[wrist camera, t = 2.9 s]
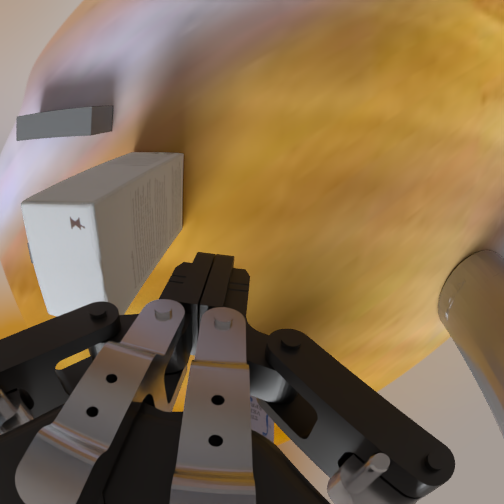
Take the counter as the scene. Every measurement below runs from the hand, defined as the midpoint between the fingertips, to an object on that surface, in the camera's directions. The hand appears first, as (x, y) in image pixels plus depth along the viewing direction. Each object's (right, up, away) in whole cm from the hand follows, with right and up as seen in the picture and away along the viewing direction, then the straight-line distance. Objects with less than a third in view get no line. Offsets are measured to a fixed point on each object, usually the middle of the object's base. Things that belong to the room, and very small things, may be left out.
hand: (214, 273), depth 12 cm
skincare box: (-6, +5, +9) cm, 12 cm away
